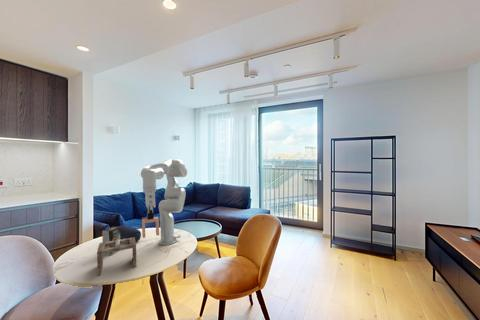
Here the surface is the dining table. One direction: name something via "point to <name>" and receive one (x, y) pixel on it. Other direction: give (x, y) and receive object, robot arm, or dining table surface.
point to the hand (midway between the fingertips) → (150, 217)
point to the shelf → (117, 247)
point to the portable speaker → (129, 233)
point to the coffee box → (110, 237)
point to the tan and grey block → (149, 222)
